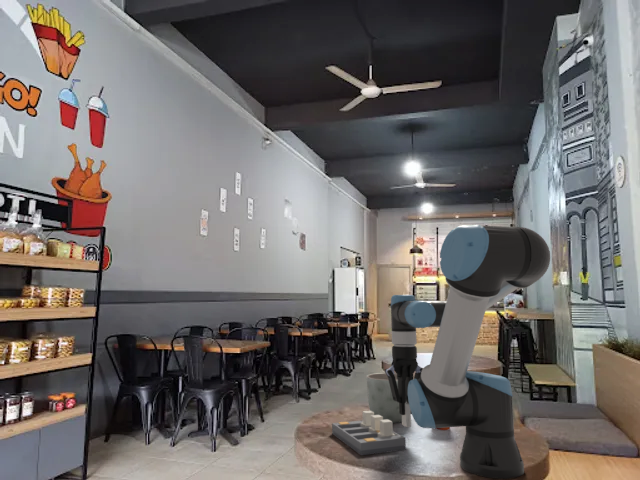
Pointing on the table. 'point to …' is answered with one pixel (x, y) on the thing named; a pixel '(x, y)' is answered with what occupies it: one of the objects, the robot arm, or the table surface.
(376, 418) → the tab
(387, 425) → the tab
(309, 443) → the table surface
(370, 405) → the concrete flower pot
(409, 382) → the robot arm
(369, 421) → the tab
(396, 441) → the switch bank
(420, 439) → the table surface
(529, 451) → the table surface
